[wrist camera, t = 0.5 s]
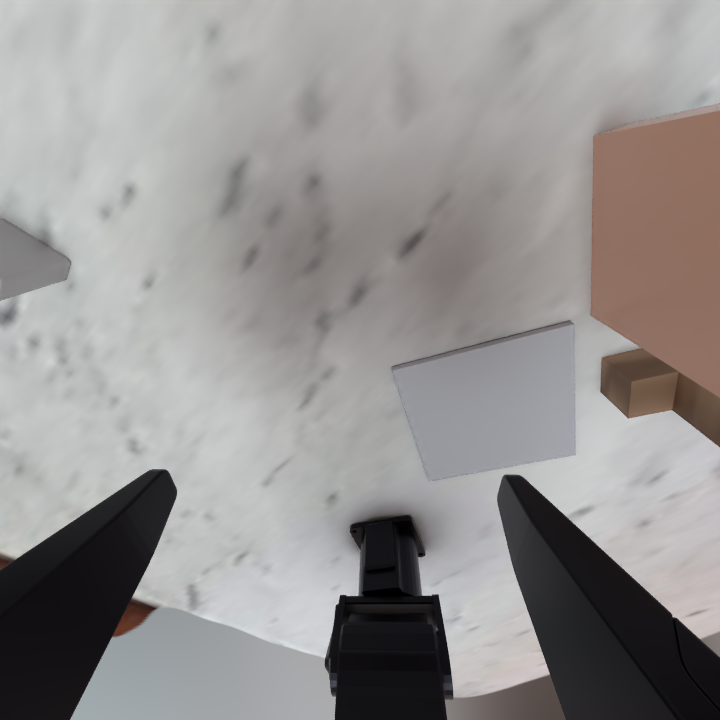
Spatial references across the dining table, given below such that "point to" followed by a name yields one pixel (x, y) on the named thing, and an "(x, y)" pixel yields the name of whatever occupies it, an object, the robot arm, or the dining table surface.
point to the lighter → (27, 262)
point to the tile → (661, 238)
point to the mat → (493, 403)
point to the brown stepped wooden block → (658, 391)
